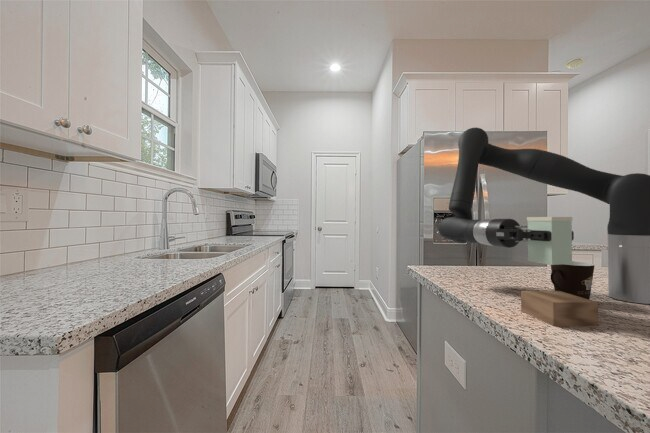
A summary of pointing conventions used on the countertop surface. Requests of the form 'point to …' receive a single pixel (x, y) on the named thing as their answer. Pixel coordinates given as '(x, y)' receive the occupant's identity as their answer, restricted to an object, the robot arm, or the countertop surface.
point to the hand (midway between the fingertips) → (561, 235)
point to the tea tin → (560, 240)
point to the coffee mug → (573, 278)
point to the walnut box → (559, 308)
